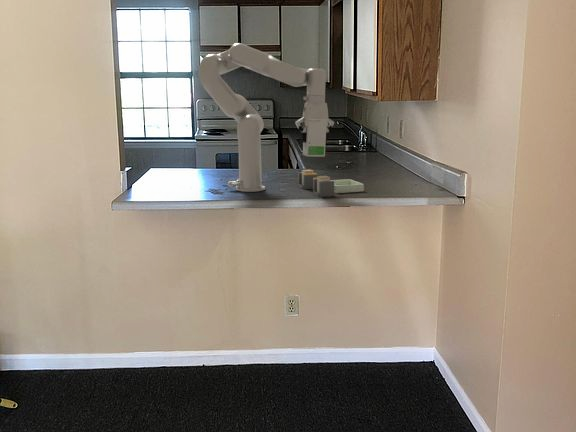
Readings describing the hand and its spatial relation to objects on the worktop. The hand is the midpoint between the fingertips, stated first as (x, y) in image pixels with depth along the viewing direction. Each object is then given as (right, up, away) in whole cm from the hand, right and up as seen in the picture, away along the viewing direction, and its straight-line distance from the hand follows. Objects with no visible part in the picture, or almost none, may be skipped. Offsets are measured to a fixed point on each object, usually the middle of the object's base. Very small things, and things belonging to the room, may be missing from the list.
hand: (314, 141), depth 255 cm
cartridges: (+1, -20, +5) cm, 21 cm away
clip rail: (+1, -20, +5) cm, 21 cm away
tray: (+13, -19, +8) cm, 24 cm away
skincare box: (0, -6, +1) cm, 6 cm away
